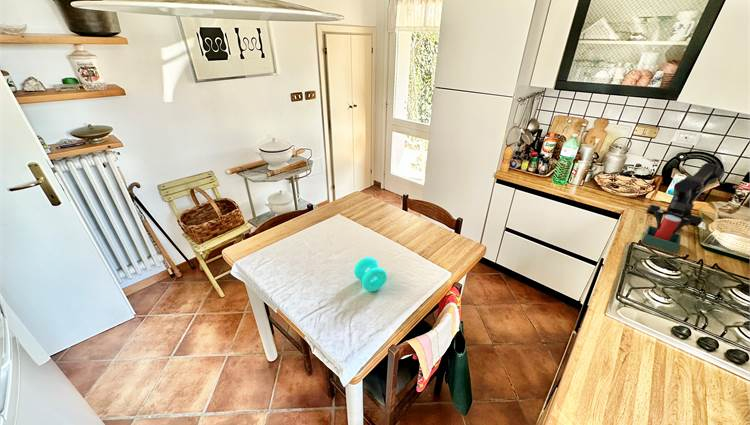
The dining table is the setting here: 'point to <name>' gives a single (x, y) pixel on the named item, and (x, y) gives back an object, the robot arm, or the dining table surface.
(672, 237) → the bin
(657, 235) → the chip canister
